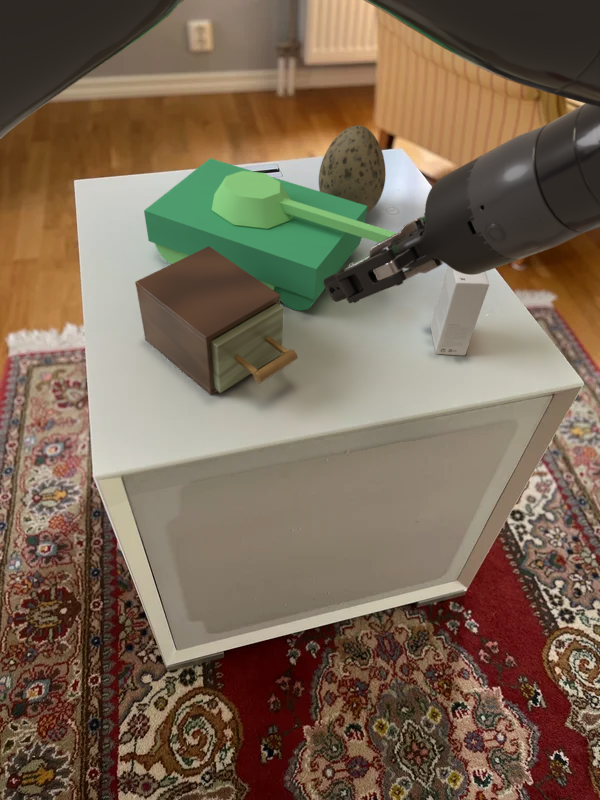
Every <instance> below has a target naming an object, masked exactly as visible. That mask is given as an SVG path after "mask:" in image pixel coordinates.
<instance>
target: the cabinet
mask: <svg viewBox="0 0 600 800" xmlns="http://www.w3.org/2000/svg"><path fill="white" fill-rule="evenodd" d="M134 283H135V288H136V293H137V299H138V300H137V301H138V307H139V311H140V312H139V313H140V317H141V322H142V329H143V335H144V339H145V341H146V342H147V343H148V344H150V345H151V347H153V348H154V349H156V350H157V351H158V352H159V353H160V354H162V355H163V356H164V357H165V358H166V359H167V360H169V361H170V362H171V363H172V364H173V365H174V366H176V367H177V368H178V369H179V370H180V371H182V372H183V373H184V374H185V375H186V376H187V377H189V378H190V379H191V380H192V381H193V382H194V383H196V385H198V386H199V387H200V388H201V389H203V390H204V391H205V392H206V393H208V395H210V396H212V395H213V394H215V393H217V392H218V391H217V390H216V389H215V388H214V377H213V363H212V349H211V341H212V339H214V338H216V337H217V336H219V335H221V334H223V333H224V332H226V331H228V330H229V329H231V328H233V327H235V326H236V325H238V324H240V323H241V322H243V321H245V320H247V319H248V318H250V317H252V316H253V315H255V314H257V313H259V312H260V311H262V310H264V309H265V310H266V309H268V308H269V307H271V306H273V305H274V304H276V303H277V304H279V305H280V306H281V300H280V295H279V294H278V293H276V292H275V290H272V289H271V288H269V287H268V286H266V285H265V284H263V283H262V282H260V281H259V280H258V279H256V278H255V277H253V276H252V275H250V274H249V273H247V272H246V271H244V270H243V269H242V268H240V267H239V266H237V265H236V264H234V263H233V262H231V261H230V260H228V259H227V258H226V257H224V256H223V255H221V254H220V253H218V252H217V251H215V250H214V249H212V248H211V247H210V246H208V247H206V248H204V249H202V250H200V251H198V252H196V253H194V254H192V255H190V256H187V257H185V258H183V259H181V260H179V261H177V262H175V263H173V264H172V263H170V264H169V265H167V266H165V267H163V268H160V269H159V270H157V271H155V272H153V273H150V274H148V275H146V276H144V277H142V278H140V279H138V280H136V281H135V282H134Z"/></svg>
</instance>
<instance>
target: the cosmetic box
mask: <svg viewBox="0 0 600 800" xmlns="http://www.w3.org/2000/svg"><path fill="white" fill-rule="evenodd" d="M486 272H487V271H485V272H483V273H480V274H475V275H468V274H463V273H460V272H458V271H456V270H454V269H452V268H451V267H449V266H448V265H447V264H446V268H445V272H444V275H443V279H442V283H441V286H440V290H439V294H438V298H437V300H436V304H435V308H434V311H433V315H432V318H431V322H430V331H431V336H432V337H431V338H432V341H433V342H432V343H433V347H434V353H435V354H436V355H448V356H450V355H451V356H452V355H453V356H465V355H466V354H467V352H468V348H469V345H470V343H471V340H472V337H473V334H474V331H475V328H476V325H477V322H478V319H479V316H480V314H481V311H482V307H483V304H484V301H485V299H486V296H487V292H488V290H489V287H490V283H489V279H488V275H487V273H486Z"/></svg>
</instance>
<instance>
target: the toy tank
mask: <svg viewBox="0 0 600 800" xmlns="http://www.w3.org/2000/svg"><path fill="white" fill-rule="evenodd" d="M367 207H368V206H366V205H363V204H359V203H356V202H353V201H349V200H346V199H343V198H340V197H336V196H333V195H330V194H326V193H323V192H320V190H317V189H313V188H310V187H307V186H303V185H299V184H297V183H293V182H290V181H286V180H283V179H280V178H276V177H273V176H271V175H269V174H268V173H265V172H260V171H259V172H258V171H254V170H250V169H246V168H243V167H240V166H237V165H234V164H231V163H228V162H223V161H221V160H217V159H215V158H210V157H209V158H208V159H207V160H205V162H203V163H202V164H201V165H199V166H198V167H197V168H196V169H194V170H193V171H192V172H190V173H189V174H188V175H187V176H186V177H184V178H183V179H182V180H181V181H179V182H178V183H177V184H175V185H174V186H173V187H171V188H170V189H169V190H168V191H167V192H165V193H164V194H163V195H161V197H159V198H157V199H156V200H155V201H154V202H153V203H152V204H150V205H149V206H148V207H146V208H145V209H144V210H143V212H144V219H145V226H146V232H147V233H146V234H147V240H148V242H150V243H153V244H154V246H155V248H156V250H157V252H158V253H159V254H160V256H161V258H163V259H164V260H165V261H166V262H167V263H169V264H173V263H175V262H177V261H179V260H181V259H183V258H185V257H187V256H190V255H192V254H194V253H196V252H198V251H200V250H202V249H204V248H206V247H208V246H210V247H211V248H212V249H214V250H215V251H217V252H218V253H220V254H221V255H223V256H224V257H226V258H227V259H228V260H230V261H231V262H233V263H234V264H236V265H237V266H239V267H240V268H242V269H243V270H244V271H246V272H247V273H249V274H250V275H252V276H253V277H255V278H256V279H258V280H259V281H260V282H262V283H263V284H265V285H266V286H268V287H269V288H271V289H272V290H274V291H275V292H276V293H278V294H279V295H280V303H282V304H284V305H285V306H286V307H287V308H289V309H291V310H292V311H293V310H295V311H297V312H301V311H306V310H308V309H310V308H311V307H312V306H313V305H314V304H315V302H316V301H317V300H318V298H319V297H320V295H321V294H322V293H323V292H324V291H325V290H326V287H325V286H324V279H326V278H327V277H329V276H331V275H333V274H335V273H337V272H339V271H340V270H342V267H343V266H344V265H345V264H346V262H347V261H348V260H349V258H350V257H351V256H352V255H353V253H354V252H355V251H356V249H357V248H358V247H359V245H360V244H361V241H362V238H363V239H365V240H368V241H372V242H375V243H377V244H378V243H380V242H381V241H383V240H385V239H387V238H389V237H391V236H393V235H394V234H396V233H397V232H395V231H391V230H389V229H386V228H382V227H379V226H376V225H372V224H370V223H366V220H367V214H368V213H367Z"/></svg>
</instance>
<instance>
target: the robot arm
mask: <svg viewBox="0 0 600 800" xmlns="http://www.w3.org/2000/svg"><path fill="white" fill-rule="evenodd" d="M184 1H185V0H0V140H2V139H3V138H4V137H5V136H6V135H7V134H8V133H9V132H10V131H11V130H12V129H14V128H15V127H16V126H18V125H19V124H20V123H22V122H23V121H25V119H27V118H28V117H30V115H32V114H34V113H35V112H36V111H38V110H39V109H40V108H42V107H44V106H45V105H46V104H48V103H49V102H51V101H52V100H53V99H55V98H56V97H58V96H59V95H60V94H62V93H63V92H65V91H66V90H68V89H69V88H71V87H72V86H73V85H75V84H77V82H79V81H81V80H82V79H84V78H85V77H86V76H88V75H89V74H90V73H92V72H93V71H95V70H97V69H98V68H99V67H101V66H103V65H104V64H105V63H107V62H109V61H110V60H111V59H113V58H115V57H116V56H117V55H119V54H120V53H121V52H122V51H124V50H126V49H127V48H129V47H130V46H131V45H133V44H134V43H136V42H137V41H138V40H140V39H141V38H142V37H145V35H147V34H148V33H150V32H151V31H152V30H153V29H155V28H156V27H158V25H160V24H161V23H162V22H164V21H165V20H166V19H167V18H168V17H169V16H170V15H172V14H173V13H174V12H175V11H176V10H177V8H178V7H179V6H180V5H181V4H182V3H183V2H184ZM363 1H364V2H366V3H368V4H370V5H371V6H374V7H375V8H376V9H378V10H380V11H382V12H383V13H385V14H387V15H388V16H390V17H391V18H393V19H395V20H397V21H398V22H400V23H401V24H403V25H405V26H406V27H408V28H409V29H411V30H413V31H414V32H416V33H418V34H420V36H423V37H424V38H426V39H428V40H429V41H431V42H432V43H434V44H435V45H438V46H439V47H441V48H443V49H444V50H446V51H447V52H450V53H452V54H453V55H455V56H456V57H459V58H461V60H464V61H466V62H468V63H470V64H471V65H474V66H475V67H477V68H479V69H481V70H484V71H485V72H488V73H490V74H492V75H494V76H496V77H499V78H502V79H504V80H507V81H509V82H513V83H515V84H518V85H520V86H522V87H523V86H524V87H527V88H530V89H534V90H536V91H540V92H543V93H547V94H551V95H554V96H558V97H562V98H566V99H569V100H572V101H575V102H579V103H582V104H581V105H580V106H577V107H576V108H574V109H571V110H570V111H569V112H567V113H565V114H563V115H561V116H559V117H557V118H556V119H554V120H552V121H551V122H549V123H547V124H545V125H543V126H539V127H537V128H535V129H532V130H529V131H526V132H523V133H521V134H519V135H517V136H514V137H513V138H511V139H508V140H507V141H505V142H503V143H502V144H499V145H498V146H496V147H494V148H492V149H490V150H489V151H487V152H485V153H484V154H482V155H480V156H478V157H476V158H474V159H472V160H471V161H469V162H467V163H465V164H463V165H461V166H460V167H459V168H456V169H455V170H453V171H451V172H449V173H446V175H443V176H441V177H440V178H439V179H438V180H437V181H435V183H434V184H433V185H432V186H431V188H430V190H429V191H428V194H427V197H426V201H425V208H424V213H423V215H422V216H419V217H417V218H415V219H413V220H411V221H409V222H408V223H406V224H404V225H403V226H402V227H401V229H400V231H398V232H395V233H396V234H394V235H393V236H391V237H389V238H387V239H385V240H383V241H381V242H380V243H378V242H377V243H376V244H374V245H373V246H372V247H371V248H370V249H369V255H367V256H365V257H364V258H362V259H360V260H358V261H355V262H354V261H353V262H351V263H349V264H347V265H348V266H347V267H346V268H341V269H340V270H339V271H338V272H337V273H335V274H333V275H331V276H329V277H327V278H326V279H324V286H325V287H326V288H325V290H326V291H327V293H328V295H329V297H330V299H331V301H333V302H335V303H338V302H340V301H344V300H347V302H348V304H350V305H351V304H355V303H358V302H360V300H362V299H363V300H364V299H365V298H368V297H370V296H373V295H376V294H377V293H380V292H382V291H385V290H388V289H391V288H392V287H395V286H396V287H399V286H400V285H402V284H404V281H406V280H408V279H410V278H412V277H414V276H416V275H418V274H427V273H430V272H432V271H433V270H435V269H437V268H439V267H441V266H442V265H444V264H445V265H446V266H447V265H448V266H449V267H451V268H452V269H454V270H456V271H458V272H460V273H463V274H468V275H475V274H480V273H483V272H488V271H491V270H493V269H497V268H499V267H502V266H504V265H508V264H511V263H514V262H516V261H519V260H523V259H525V258H529V257H531V256H534V255H537V254H539V253H542V252H545V251H548V250H550V249H553V248H556V247H559V246H560V245H562V244H564V243H567V242H568V241H570V240H572V239H575V237H578V236H580V235H582V234H584V233H587V232H590V231H592V230H595V229H598V228H600V0H363ZM387 248H388V249H387ZM404 269H406V270H404Z"/></svg>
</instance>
